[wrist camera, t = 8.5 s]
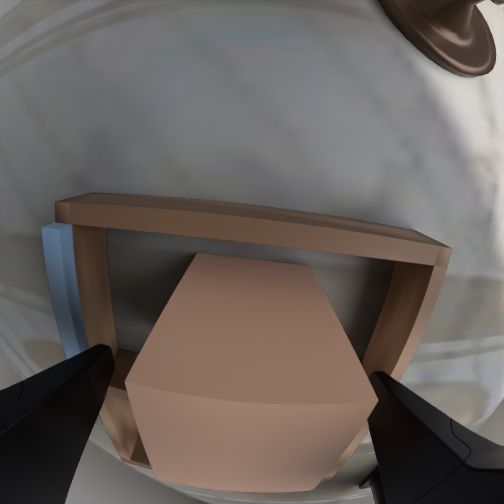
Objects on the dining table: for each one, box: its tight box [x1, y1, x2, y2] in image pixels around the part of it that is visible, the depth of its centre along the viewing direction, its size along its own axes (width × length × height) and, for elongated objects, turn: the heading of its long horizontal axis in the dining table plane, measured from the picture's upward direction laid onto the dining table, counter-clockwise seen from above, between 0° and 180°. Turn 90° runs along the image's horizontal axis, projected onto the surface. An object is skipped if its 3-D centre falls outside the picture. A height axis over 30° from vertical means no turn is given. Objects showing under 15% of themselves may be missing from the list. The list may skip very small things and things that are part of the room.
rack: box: [41, 193, 452, 481], centre depth 12 cm, size 18×16×4 cm
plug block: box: [125, 252, 379, 492], centre depth 9 cm, size 5×5×8 cm
